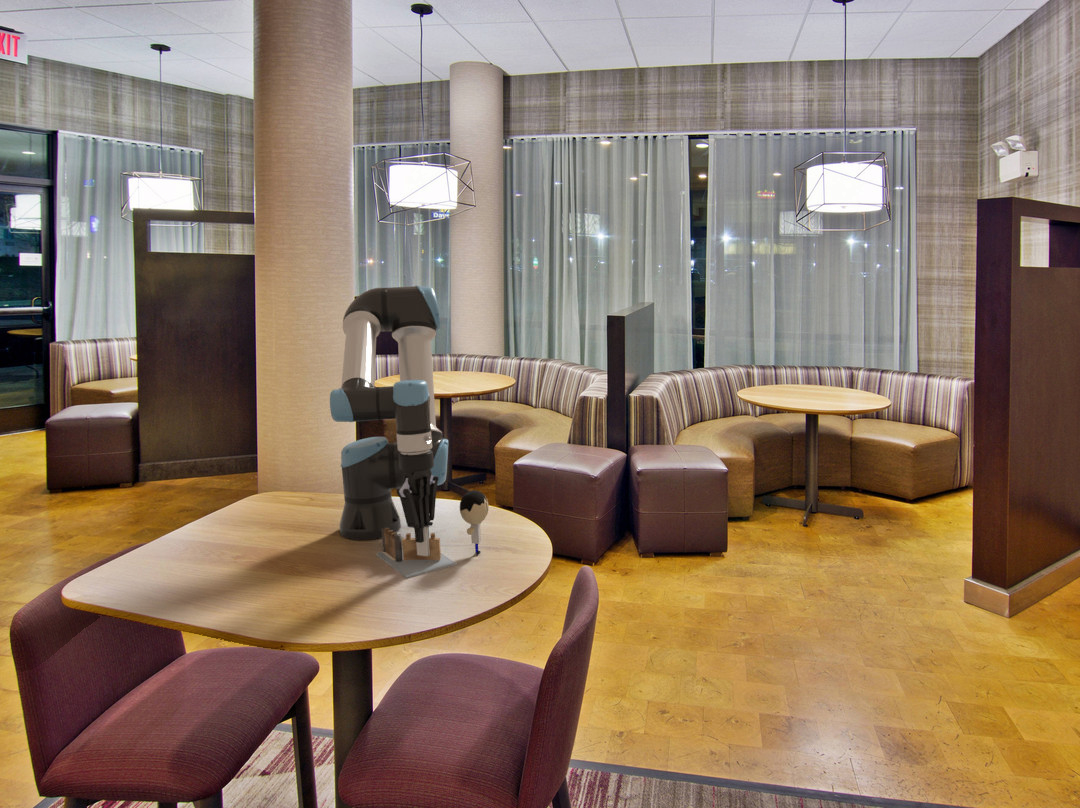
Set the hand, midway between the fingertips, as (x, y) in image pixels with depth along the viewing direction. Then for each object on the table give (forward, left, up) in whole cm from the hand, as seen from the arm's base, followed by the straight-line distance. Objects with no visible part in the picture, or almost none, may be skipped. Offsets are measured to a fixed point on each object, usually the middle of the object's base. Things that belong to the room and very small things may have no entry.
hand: (423, 554), depth 171 cm
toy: (+2, +12, -3) cm, 13 cm away
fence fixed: (-9, -4, -2) cm, 10 cm away
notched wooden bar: (-2, 0, -2) cm, 2 cm away
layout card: (-4, 0, -2) cm, 5 cm away
